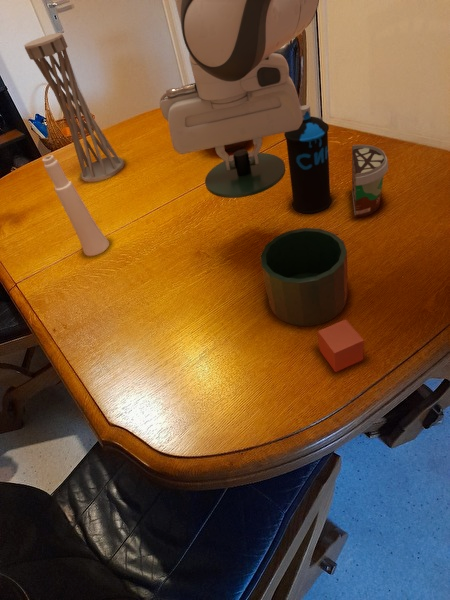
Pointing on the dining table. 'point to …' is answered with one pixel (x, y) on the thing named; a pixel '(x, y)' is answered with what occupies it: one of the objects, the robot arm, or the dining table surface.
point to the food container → (367, 178)
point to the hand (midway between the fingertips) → (243, 165)
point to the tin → (305, 276)
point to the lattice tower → (101, 166)
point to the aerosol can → (309, 164)
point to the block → (341, 345)
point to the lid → (245, 176)
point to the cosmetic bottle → (76, 210)
